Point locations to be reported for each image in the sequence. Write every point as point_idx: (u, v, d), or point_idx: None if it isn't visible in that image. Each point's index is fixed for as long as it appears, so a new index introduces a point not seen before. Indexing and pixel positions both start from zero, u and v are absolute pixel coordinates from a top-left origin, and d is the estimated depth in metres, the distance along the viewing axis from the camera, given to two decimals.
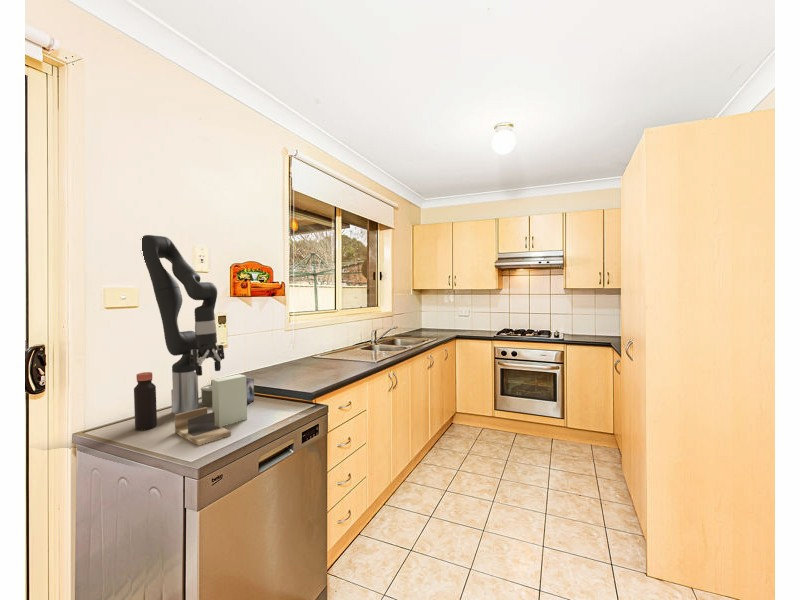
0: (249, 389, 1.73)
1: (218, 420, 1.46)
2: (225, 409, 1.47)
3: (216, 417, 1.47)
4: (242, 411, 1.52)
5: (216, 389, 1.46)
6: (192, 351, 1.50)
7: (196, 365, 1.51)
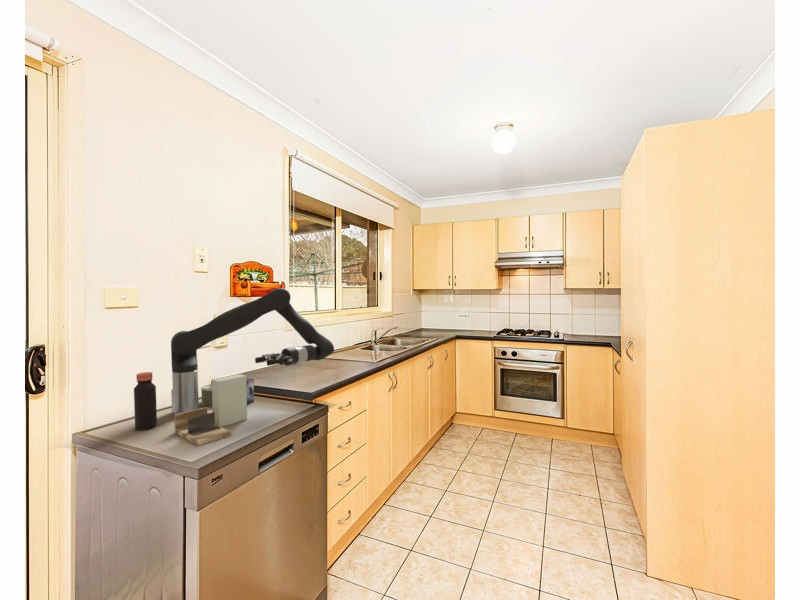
0: (249, 389, 1.73)
1: (218, 420, 1.46)
2: (225, 409, 1.47)
3: (216, 417, 1.47)
4: (242, 411, 1.52)
5: (216, 389, 1.46)
6: (291, 360, 1.64)
7: (278, 363, 1.61)
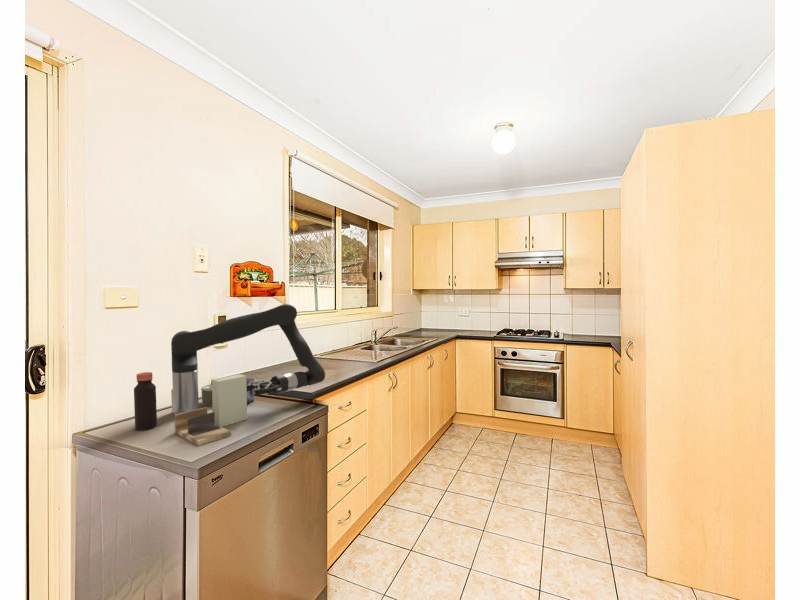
0: None
1: (218, 420, 1.46)
2: (225, 409, 1.47)
3: (216, 417, 1.47)
4: (242, 411, 1.52)
5: (216, 389, 1.46)
6: (280, 389, 1.61)
7: (267, 393, 1.57)
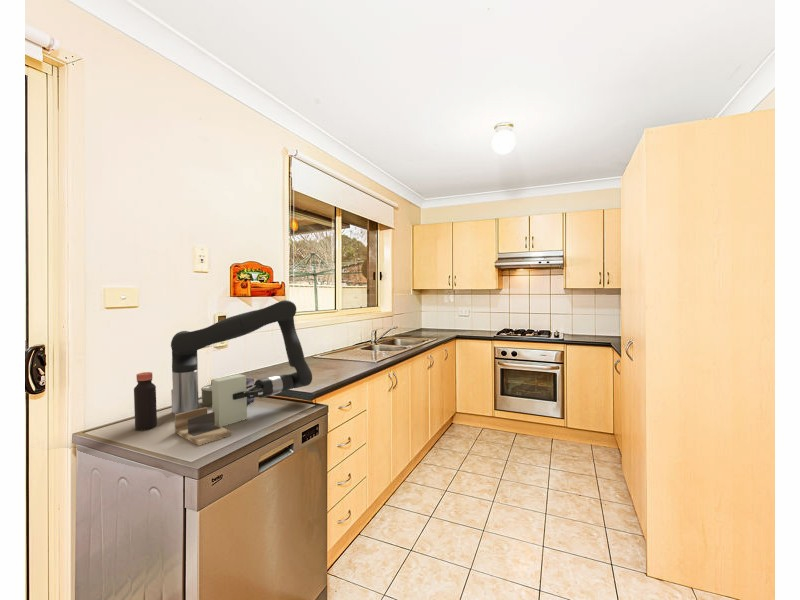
0: None
1: (218, 420, 1.46)
2: (225, 409, 1.47)
3: (216, 417, 1.47)
4: (242, 411, 1.52)
5: (216, 389, 1.46)
6: (261, 394, 1.54)
7: (245, 396, 1.51)
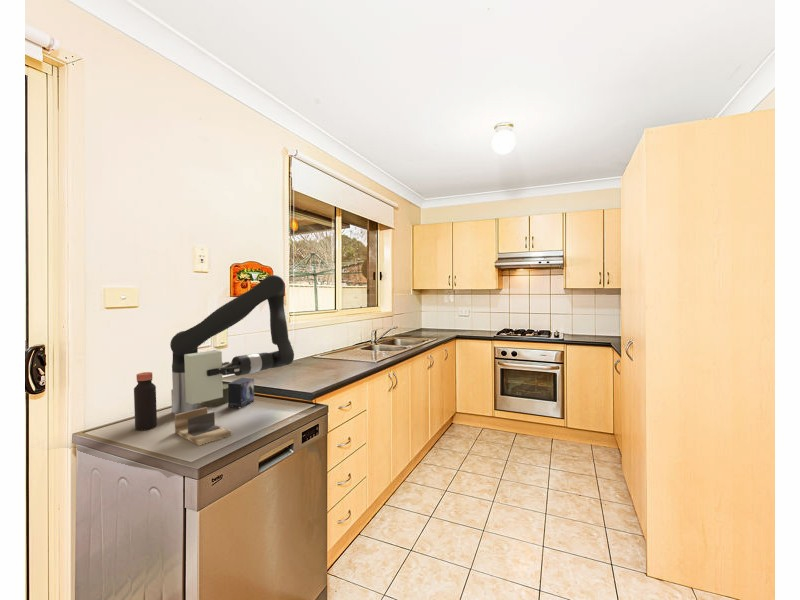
0: (249, 389, 1.73)
1: (191, 397, 1.38)
2: (198, 386, 1.39)
3: (189, 394, 1.39)
4: (217, 388, 1.45)
5: (189, 364, 1.38)
6: (237, 370, 1.46)
7: (221, 373, 1.44)
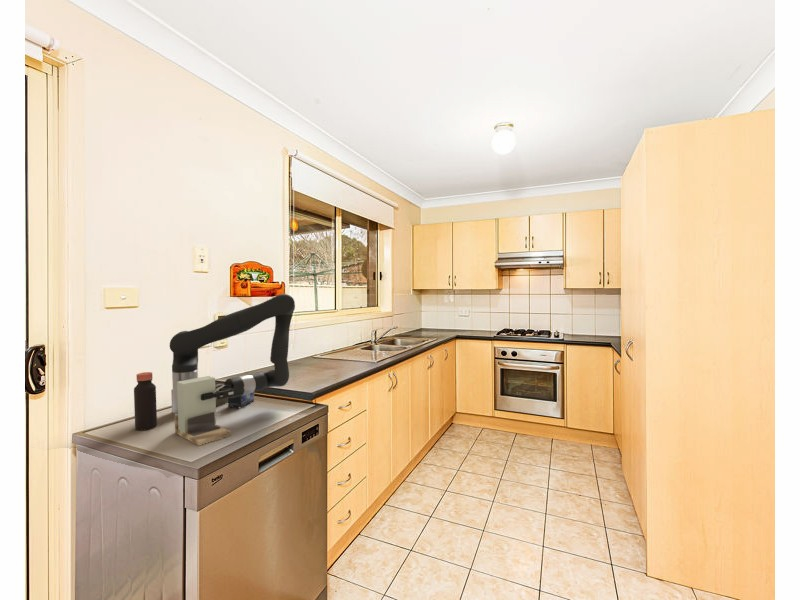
0: None
1: (183, 425, 1.36)
2: (191, 414, 1.38)
3: (181, 422, 1.37)
4: None
5: (181, 392, 1.36)
6: (232, 393, 1.45)
7: (215, 397, 1.41)
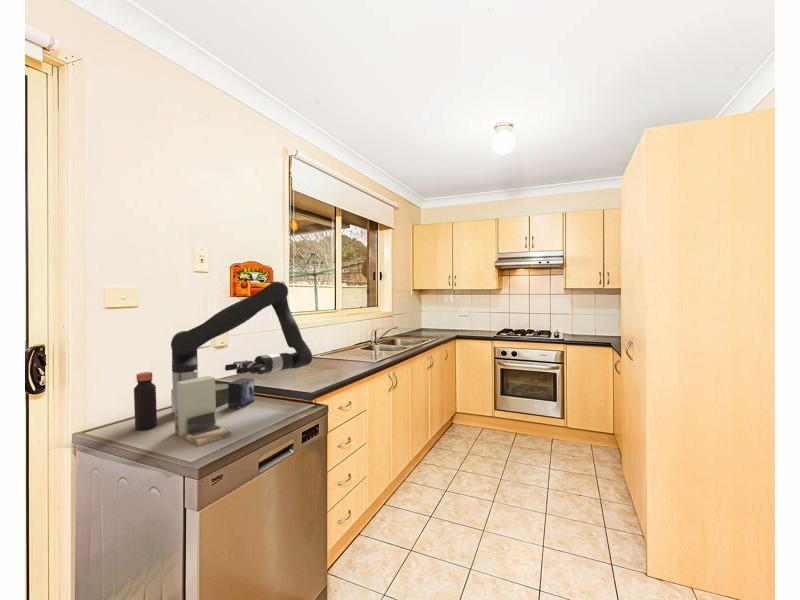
0: (249, 389, 1.73)
1: (183, 425, 1.36)
2: (191, 414, 1.37)
3: (181, 422, 1.37)
4: None
5: (181, 392, 1.36)
6: (264, 369, 1.54)
7: (249, 371, 1.51)
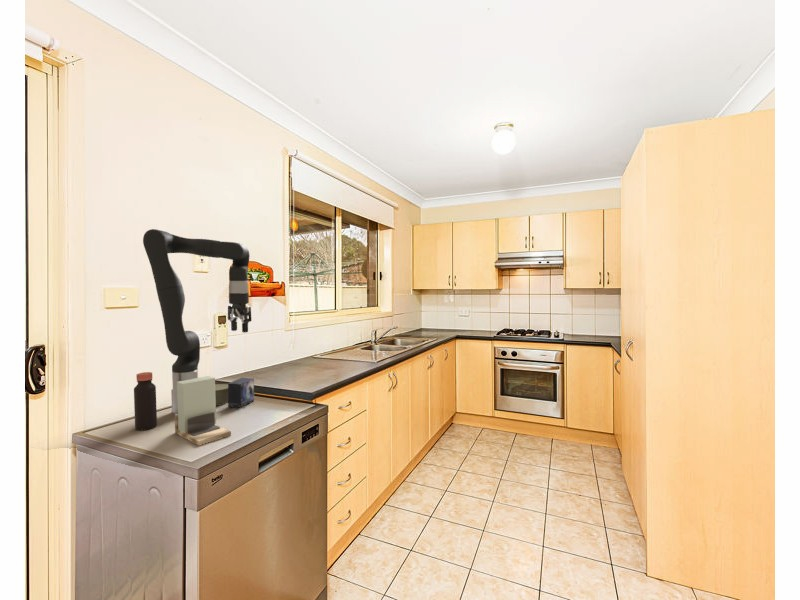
0: (249, 389, 1.73)
1: (183, 425, 1.36)
2: (191, 414, 1.37)
3: (181, 422, 1.37)
4: None
5: (181, 392, 1.36)
6: (248, 308, 1.58)
7: (248, 321, 1.59)
